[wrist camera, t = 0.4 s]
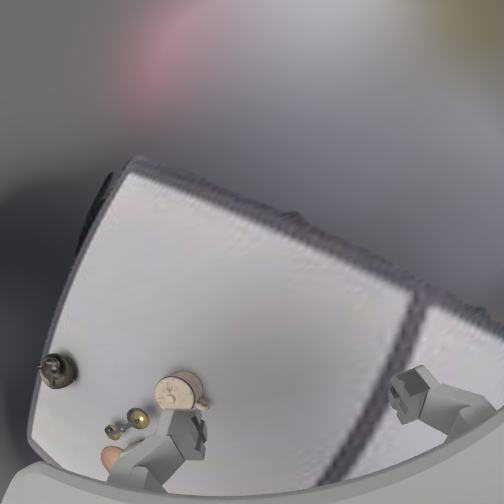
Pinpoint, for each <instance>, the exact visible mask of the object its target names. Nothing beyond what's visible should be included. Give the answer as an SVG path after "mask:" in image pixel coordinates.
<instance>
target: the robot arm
mask: <svg viewBox="0 0 504 504" xmlns="http://www.w3.org/2000/svg"><path fill="white" fill-rule="evenodd" d="M391 383H392V385H393V386H392V387H391V388H390V389H389V402H390V404H391V406H392V408H393V409H395V410H397V417H398V419H399V420H400V422H401V424H402V425H403V424H406V423H409V422H412V421H414V420H417V419H419V420H420V421H422V422H424V423H426V424H428V425H430V426H431V427H433V428H435V429H437V430H439V431H441V432H443V433H444V434H446V435H448V436H447V438H446V440H445V442H444V443H443V444H441V445H439V446H437V447H435V448H433V449H430V450H428V451H426V452H424V453H422V454H420V455H417V456H415V457H413V458H410V459H408V460H406V461H403V462H401V463H398V464H395V465H393V466H390V467H387V468H385V469H382V470H379V471H376V472H373V473H370V474H366V475H363V476H360V477H356V478H353V479H349V480H345V481H341V482H337V483H333V484H329V485H324V486H319V487H314V488H308V489H303V490H296V491H290V492H282V493H273V494H262V495H248V496H197V495H182V494H172V493H168V492H167V491H166V490H165V489H164V488H163V487H162V485H163V484H164V483H165V482H166V481H167V480H168V479H169V478H170V477H171V476H172V475H173V474H174V473H175V471H176V470H177V469H178V468H179V467H180V466H181V465H182V464H183V463H184V462H185V461H184V460H204V457H205V450H206V448H205V446H204V443H205V442H206V441H207V427H206V424H205V421H203V420H202V419H201V417H202V414H201V412H200V409H168V408H165V409H164V410H163V411H162V414H161V417H160V420H159V423H158V426H157V429H156V432H155V435H150V436H149V437H148V438H146V439H145V440H144V441H142V442H141V443H140V444H138V445H137V446H136V447H134V448H133V449H132V450H130V451H129V452H127V453H126V454H125V455H123V456H122V457H120V458H119V459H118V460H116V461H115V462H114V464H113V467H112V469H111V472H110V474H109V477H108V479H107V482H105V481H101V480H97V479H94V478H90V477H87V476H84V475H80V474H77V473H74V472H71V471H68V470H66V469H63V468H60V467H57V466H55V465H52V464H50V463H47V462H44V461H39V462H36V463H34V464H32V465H30V466H28V467H26V468H24V469H22V470H20V471H19V472H17V474H16V475H15V476H14V478H13V480H12V482H11V483H10V485H9V487H8V489H7V492H6V494H5V496H4V498H3V501H2V503H1V504H504V406H502V407H501V408H500V409H498V410H496V409H495V408H494V407H493V406H492V405H491V404H490V402H489V401H488V400H487V399H486V398H485V397H484V396H482V395H479V394H475V393H472V392H469V391H465V390H462V389H459V388H456V387H452V386H449V385H446V384H440V383H439V382H438V381H437V380H436V379H435V377H434V376H433V375H432V374H431V373H430V372H429V370H428V369H427V368H426V367H425V366H424V365H420V366H418V367H415V368H413V369H410V370H407V371H404V372H401V373H398V374H395V375H393V376H392V378H391Z"/></svg>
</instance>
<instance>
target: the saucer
mask: <svg viewBox="0 0 504 504" xmlns="http://www.w3.org/2000/svg"><path fill="white" fill-rule="evenodd" d="M122 450H123V449H121V448H118V447H114V446H110V447H107V448H105V449H104V450H103V451H102V453H101V461H102V463H103V465H104V467H105V468H106V470H107V471H108V472H109V473H110V472H111V469H112V467H113V464H114V462H115V461H116V460H118V459H119V458H120V456H119V455H118V453H120V452H121V451H122Z"/></svg>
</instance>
